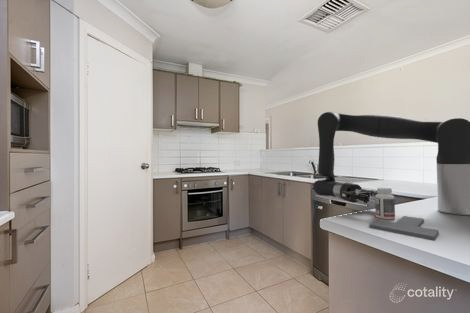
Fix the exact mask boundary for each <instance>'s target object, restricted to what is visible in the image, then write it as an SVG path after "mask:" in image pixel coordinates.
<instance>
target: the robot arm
mask: <svg viewBox="0 0 470 313" xmlns="http://www.w3.org/2000/svg"><path fill="white" fill-rule="evenodd" d="M317 129H318V130H317V132H318V140H319V141H318V142H319V143H318V147H319V150H318V162H317V174H318V175H320V176H323V177H325V179H318V180H315V181H314V183H313V184H312V190H313V192H314V193H315V194H317V195H318V196H324V197H334V198H337V199H339V200H342V201H346V202H349V203H354V204H355V203H359V202H360V201H362V202H365V203H369V202H370V200H371V201H372V200H373V201H374V200H375V195H376V194H378V191H377V190H376V189H367V188H362V186H360V185H359V184H358V183H354V182H353V183H352V182H345V181H342V182H341V181H336V178H335V172H334V170H335V151H334V150H335V148H334V142H335V135H336V132H352V133H357V134H361V135H364V136H368V137H374V138H381V139H396V140H419V141H425V142H431V143H437V155H436V157H435V158H436V185H437V186H436V187H437V189H436V190H437V210H438V212H441V213H447V214H453V215H461V216H462V215H463V216H470V121H469V120H468V119H465V118H462V117H453V118H449V119H446V120H443V121H442V120H441V121H440V120H439V121H430V120H429V121H428V120H427V121H423V120H417V119H411V118H408V117H407V118H406V117H402V116H397V115H388V114H361V115H356V114H355V115H354V114H346V113H339V112H334V111H325V112H323V113H322V114H321V115H320V116H319V117H318V119H317Z"/></svg>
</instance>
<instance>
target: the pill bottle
mask: <svg viewBox="0 0 470 313" xmlns="http://www.w3.org/2000/svg"><path fill="white" fill-rule="evenodd" d="M376 191H378V194H376V195H375V199H374V200H375V202H374V203H375V205H374V206H375V209H374V210H375V217H376V218H379V219H380V220H381V219H382V220H394V219H396V207H395V206H396V204H395V203H396V202H395V196H394V195H393V194H392V192H393V191H392V188H391V187H377V190H376Z"/></svg>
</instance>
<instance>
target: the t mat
mask: <svg viewBox="0 0 470 313" xmlns="http://www.w3.org/2000/svg"><path fill="white" fill-rule="evenodd" d="M424 222H425V218H421V217H413V216H408V215H403V216H402V217H400V218H399V219H398V220H397V221H395V222H394V221H388V220H383V219H382V220H381V219H376V220H374V221H373V222H370V223H369V225H368V226H369V228H372V229H377V230H380V231H381V230H382V231H387V232H391V233H398V234H403V235H408V236H413V237H417V238H423V239H427V240H433V241H435V240H436V239H437V237H438V235H439V234H440V233H439V232H440V230H439V229H434V228H428V227H422V226H421V225H422V224H423V223H424Z"/></svg>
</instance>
